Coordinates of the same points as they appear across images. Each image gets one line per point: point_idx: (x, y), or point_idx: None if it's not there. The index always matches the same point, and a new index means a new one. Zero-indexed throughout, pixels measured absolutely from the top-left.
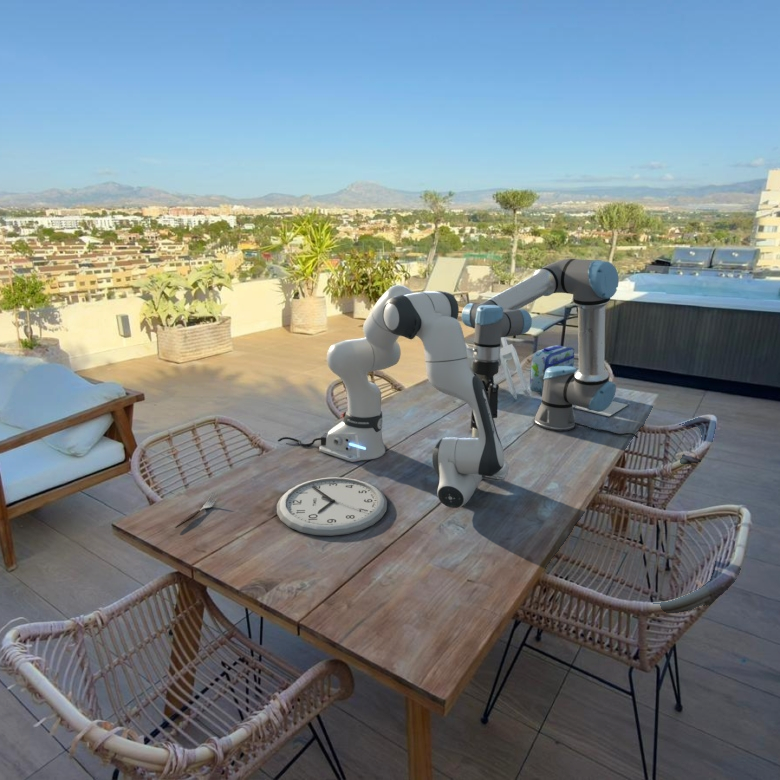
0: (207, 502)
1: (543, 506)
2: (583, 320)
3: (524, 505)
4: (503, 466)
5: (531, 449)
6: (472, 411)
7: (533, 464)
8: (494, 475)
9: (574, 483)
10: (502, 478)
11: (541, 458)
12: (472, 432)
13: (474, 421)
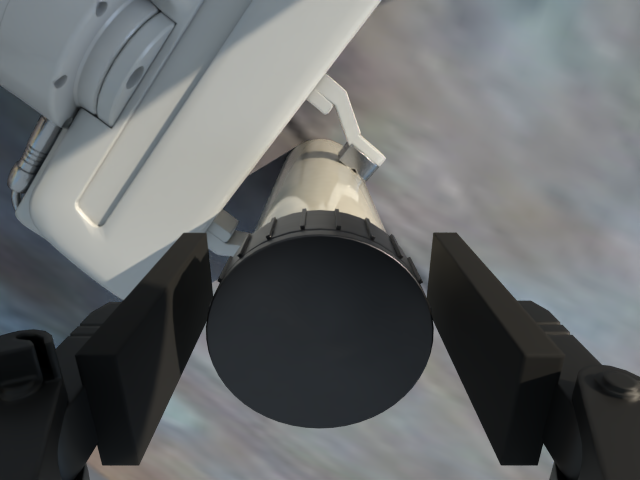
0: None
1: (15, 309)
2: None
3: (22, 247)
4: (79, 258)
5: (474, 476)
6: (514, 327)
7: (350, 427)
8: (34, 177)
9: (179, 474)
10: (14, 208)
11: (390, 471)
12: (335, 200)
13: (294, 244)
